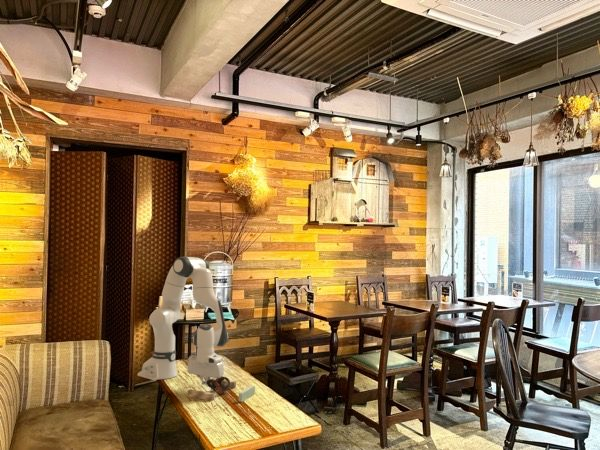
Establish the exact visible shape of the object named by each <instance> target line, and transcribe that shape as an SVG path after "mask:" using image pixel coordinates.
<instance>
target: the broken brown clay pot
mask: <svg viewBox="0 0 600 450" xmlns="http://www.w3.org/2000/svg"><path fill="white" fill-rule="evenodd" d="M223 380H226V381H227V382H228V385H226V386H224V384H222V383H221V382H222V381H223ZM230 381H231V380H230V379H229V378H228V377H226V376H224V375H223V376H222V377H221V378H217V379H216V380H212V378H210V379H209V380H208V381H207V385H206V386H207V387H209V388H210V390H211V391H212V390H215V389H218V390H217V391H216V392H217V394H218V395H221V394H222V393H225V392H226V391H228V390H229V389H231V388H230V386H231V385H230ZM211 384H212V385H211Z"/></svg>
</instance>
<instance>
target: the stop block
mask: <svg viewBox="0 0 600 450" xmlns="http://www.w3.org/2000/svg"><path fill="white" fill-rule="evenodd" d="M255 388H256V385H250V386H248V387H246V388H245V389H243V390H241V391H240V392H238V402H239V403H244V401H247V400H248V399H250V398H251V397H253V396H254V395H256V394H255V391H256V389H255Z"/></svg>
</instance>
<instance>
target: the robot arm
mask: <svg viewBox="0 0 600 450" xmlns="http://www.w3.org/2000/svg"><path fill="white" fill-rule="evenodd" d="M188 278H190V279H191V280H192V296H193V297H192V298H193V299H194V301H195V302H196V303H197V304H198V305H201V306H204V307H206V308H210V309H211V310H212V311H213V312H214V316H215V320H216V326H217V327H214V326H213V325H212V324H209V323H204V324H203V323H202V324H200V325H199V326H198V328H197V329H195V330H194V331H193V333H192V335H193V338H192V344H193V345H194V347H197V349H196V355H192V354H191V355H189V356H188V363H187V374H190V375H193V376H194V375H195V376H199V378H200V380H201V385H206V386H208V385H207V381H208V380H209V379H211V378H221V377H222V376H223V377H224V372H225V371H224V368H225V367H224V363H223V359H224V357H223V356H221V355H219V354H217V353H216V352H215V348H214V347H219V348H220V347H224V346H225V345H226V344H227V343H228V342H229V333H228V330H227V327H226V323H225V321H226V320H225V316H224V310H223V307H222V303H221V300H220V298H219V297H218V296H217V295H216V293H215V291H214V290H215V289H214V279H213V274H212V271H211V270H210V263H209V262H208V261H207V260H206V259H204V258H201V257H196V256H180V257H177V258H176V259H175V260H174V262H173V265H172V266H171V268H170V269H169V271H168V274H167V276H166V279H165V282H164V286H163V287H162V288H163V289H162V292H161V296H162V300H161V301H162V302H161V306H160V307H158V308H155V310H153V312H152V313H151V314H150V315H149V323H150V326H152V330H153V335H154V350H153V351H151V352H150V355H151V357H150V358H149V359H148V360H146V361H145V362H144V363H143V364H142V367H141V371H139V372H138V373H137V376H138V377H141V378H145V379H149V380H152V381H157V380H167V379H172V378H176V377H177V376H178V371H177V365H176V358H177V357H176V356H177V351H176V335H175V334H174V330H173V324H174V323H176V322H177V321H178V320H179V318H180V316H181V302H182V298H183V293H184V291H185V286H186V283H187V280H188Z"/></svg>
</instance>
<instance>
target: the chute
mask: <svg viewBox="0 0 600 450" xmlns="http://www.w3.org/2000/svg"><path fill="white" fill-rule="evenodd" d="M211 379H212V380H216V379H217V378H214V377H211ZM221 383H222V384H224V386H226V385H228V382H227V381H226V380H225V379H224V380H223V381H222V382H221ZM210 384H211V383H210ZM211 385H212V384H211ZM230 385H231V386H230V388H229V389H236V388H237V381H235V380H230ZM187 397H188V398H194V399H199V400H205V401H209V402H210V401H211V402H212V401H214V400H215V393H214V392H210V391H209V392H208V391H202V390H197V389H187Z"/></svg>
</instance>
